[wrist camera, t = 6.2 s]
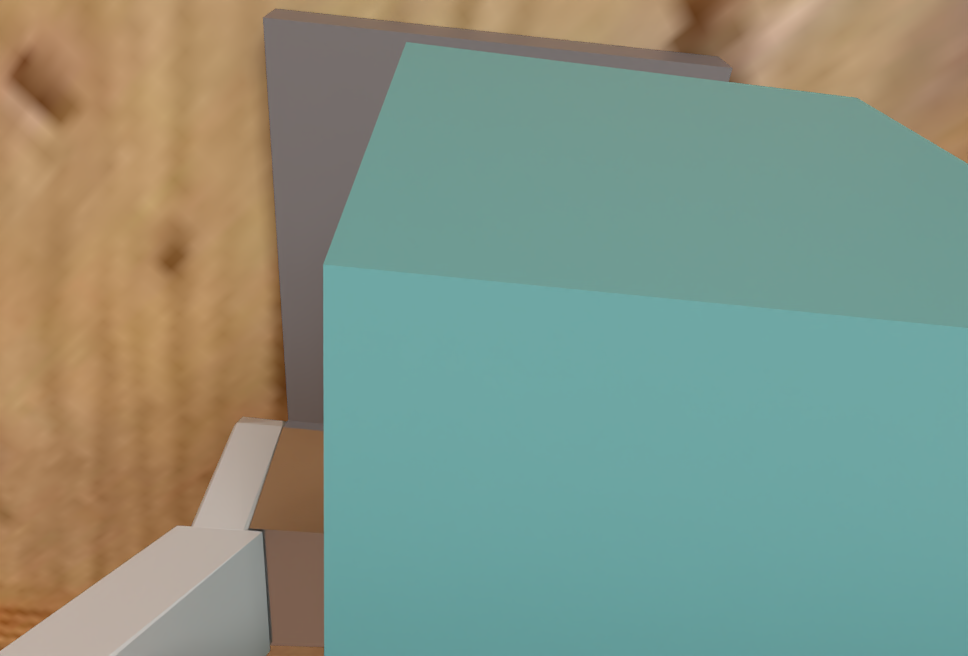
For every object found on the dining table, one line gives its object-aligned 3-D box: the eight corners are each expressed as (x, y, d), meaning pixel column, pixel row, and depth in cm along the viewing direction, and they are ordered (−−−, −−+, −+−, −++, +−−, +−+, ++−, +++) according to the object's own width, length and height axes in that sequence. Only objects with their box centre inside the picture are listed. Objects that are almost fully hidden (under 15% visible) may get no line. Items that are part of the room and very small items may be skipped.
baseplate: (718, 56, 23) (732, 68, 21) (616, 432, 31) (622, 456, 30) (275, 8, 22) (263, 17, 21) (297, 408, 30) (289, 432, 29)
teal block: (856, 97, 8) (1297, 360, 4) (654, 603, 13) (744, 963, 9) (406, 42, 7) (321, 263, 3) (374, 585, 12) (325, 955, 8)
